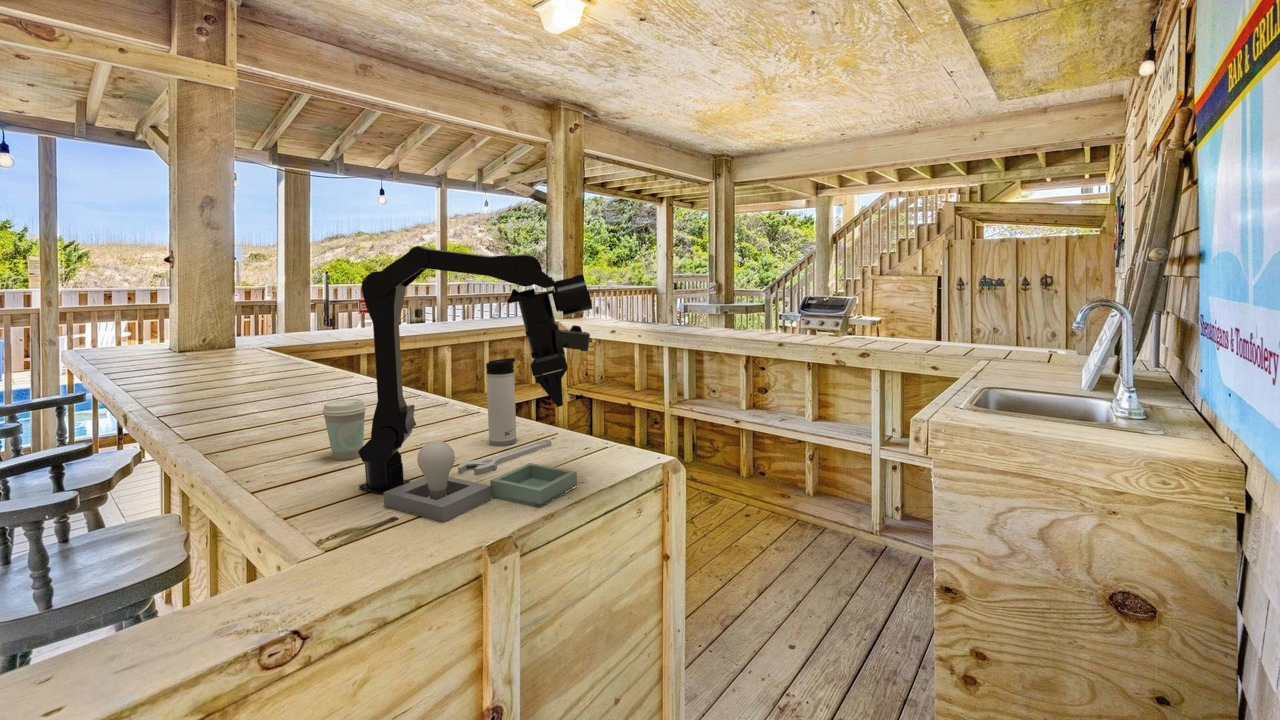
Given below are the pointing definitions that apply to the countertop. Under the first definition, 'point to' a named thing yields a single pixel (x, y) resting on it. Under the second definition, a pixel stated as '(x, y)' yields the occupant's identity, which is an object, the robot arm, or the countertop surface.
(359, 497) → the countertop surface
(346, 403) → the coffee cup
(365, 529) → the tongs
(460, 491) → the socket board
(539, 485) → the parts tray
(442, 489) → the lightbulb
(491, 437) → the travel mug
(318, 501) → the countertop surface
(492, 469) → the adjustable wrench
